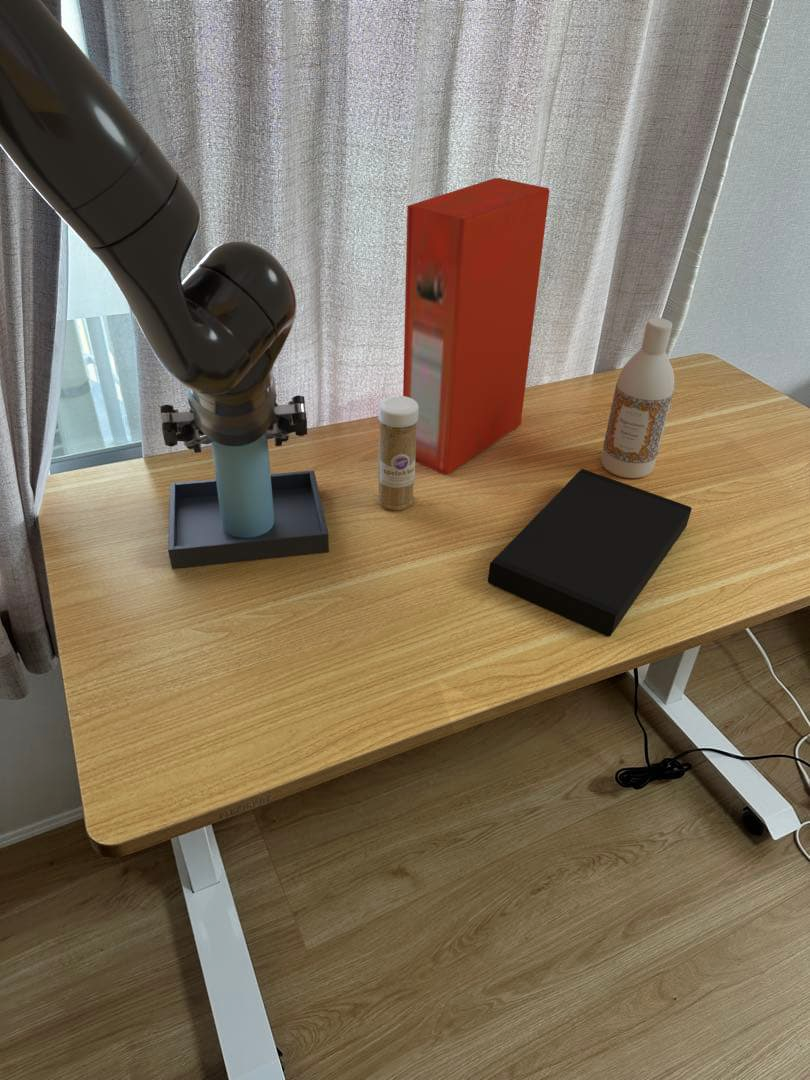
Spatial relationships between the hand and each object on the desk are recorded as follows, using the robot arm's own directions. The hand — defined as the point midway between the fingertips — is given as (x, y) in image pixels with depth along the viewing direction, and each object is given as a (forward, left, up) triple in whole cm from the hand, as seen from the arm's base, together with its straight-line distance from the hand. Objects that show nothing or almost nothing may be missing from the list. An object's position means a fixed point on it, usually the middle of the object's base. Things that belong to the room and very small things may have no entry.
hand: (237, 440), depth 87 cm
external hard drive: (+38, -12, -12) cm, 42 cm away
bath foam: (+50, +5, -12) cm, 52 cm away
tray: (0, 0, -11) cm, 11 cm away
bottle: (0, 0, -11) cm, 11 cm away
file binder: (+30, +15, -12) cm, 36 cm away
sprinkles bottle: (+18, +2, -12) cm, 22 cm away
